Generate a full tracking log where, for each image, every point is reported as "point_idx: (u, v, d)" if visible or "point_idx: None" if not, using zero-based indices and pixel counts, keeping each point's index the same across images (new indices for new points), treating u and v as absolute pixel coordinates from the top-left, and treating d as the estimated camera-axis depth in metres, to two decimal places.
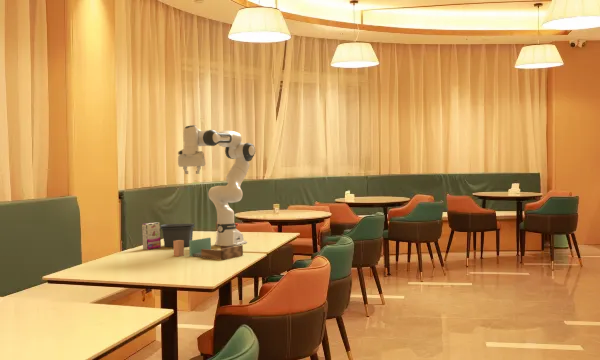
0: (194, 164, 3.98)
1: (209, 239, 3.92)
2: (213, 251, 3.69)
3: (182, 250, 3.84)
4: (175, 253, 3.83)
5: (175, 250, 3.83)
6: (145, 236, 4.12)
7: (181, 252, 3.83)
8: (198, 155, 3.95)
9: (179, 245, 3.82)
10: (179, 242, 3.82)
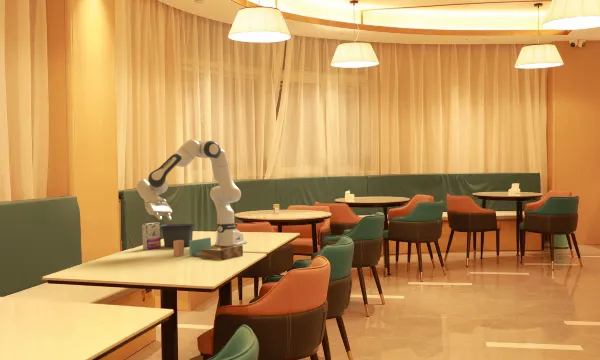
0: None
1: (209, 239, 3.92)
2: (213, 251, 3.69)
3: (182, 250, 3.84)
4: (175, 253, 3.83)
5: (175, 250, 3.83)
6: (145, 236, 4.12)
7: (181, 252, 3.83)
8: None
9: (179, 245, 3.82)
10: (179, 242, 3.82)
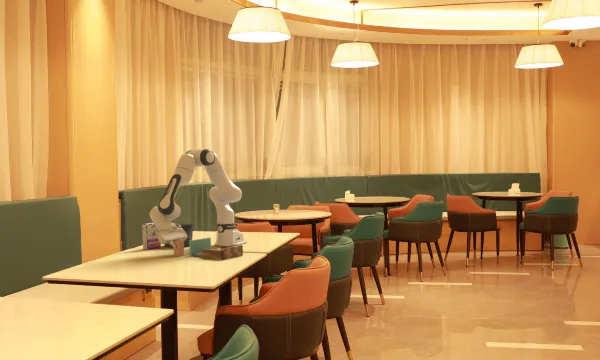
0: None
1: (209, 239, 3.92)
2: (213, 251, 3.69)
3: (182, 250, 3.84)
4: (175, 253, 3.83)
5: (175, 250, 3.83)
6: (145, 236, 4.12)
7: (181, 252, 3.83)
8: None
9: (179, 245, 3.82)
10: (179, 242, 3.82)
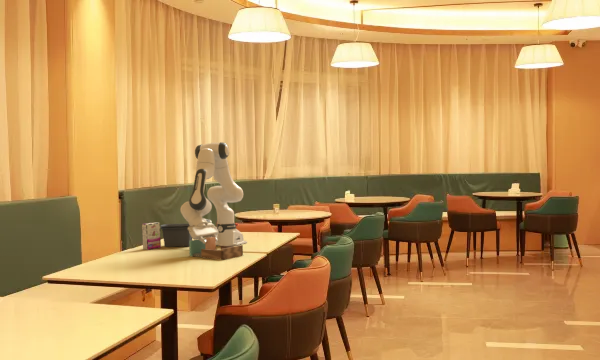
0: None
1: None
2: (213, 251, 3.69)
3: (214, 247, 3.82)
4: None
5: (207, 247, 3.80)
6: (145, 236, 4.12)
7: (213, 249, 3.81)
8: None
9: (211, 242, 3.79)
10: (211, 239, 3.80)
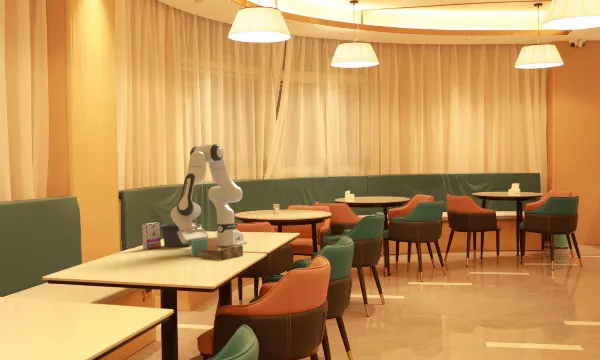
0: None
1: None
2: (213, 251, 3.69)
3: (216, 247, 3.81)
4: None
5: (209, 247, 3.79)
6: (145, 236, 4.12)
7: (215, 249, 3.80)
8: None
9: (213, 242, 3.78)
10: (213, 239, 3.79)
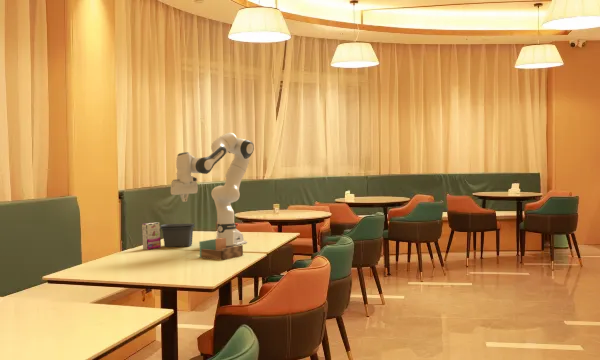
0: None
1: None
2: (213, 251, 3.69)
3: None
4: None
5: (217, 248, 3.76)
6: (145, 236, 4.12)
7: None
8: None
9: (221, 243, 3.75)
10: (221, 240, 3.75)
